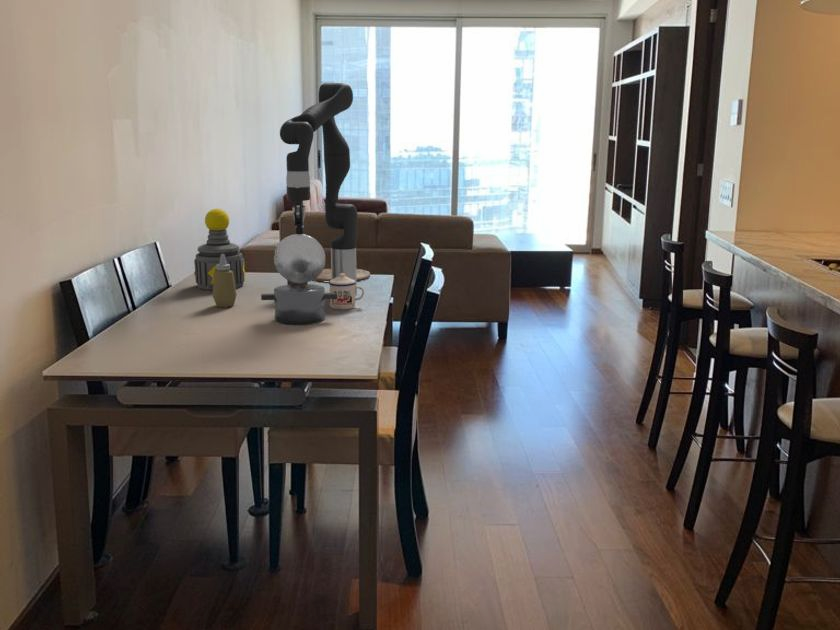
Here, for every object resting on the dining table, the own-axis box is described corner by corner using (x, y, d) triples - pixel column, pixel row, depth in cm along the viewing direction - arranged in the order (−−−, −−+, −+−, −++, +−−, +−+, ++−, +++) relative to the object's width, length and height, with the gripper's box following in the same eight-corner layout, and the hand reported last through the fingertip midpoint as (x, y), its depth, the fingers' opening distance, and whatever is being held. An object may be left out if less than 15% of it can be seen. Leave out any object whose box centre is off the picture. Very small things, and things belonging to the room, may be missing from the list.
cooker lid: (275, 283, 265) (276, 280, 268) (326, 282, 266) (326, 279, 269) (272, 235, 258) (273, 232, 261) (324, 234, 260) (324, 231, 263)
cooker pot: (265, 314, 267) (263, 284, 264) (337, 312, 269) (337, 283, 266) (259, 325, 251) (258, 294, 249) (337, 324, 253) (336, 293, 251)
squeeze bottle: (236, 302, 284) (233, 252, 280) (238, 307, 276) (235, 255, 272) (212, 304, 281) (209, 253, 277) (214, 308, 274) (211, 256, 270)
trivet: (331, 270, 349) (331, 266, 349) (381, 275, 338) (381, 271, 337) (297, 280, 328) (296, 275, 327) (349, 285, 316) (349, 281, 316)
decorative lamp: (249, 281, 322) (246, 206, 316) (239, 290, 304) (236, 211, 297) (202, 281, 322) (198, 206, 315) (189, 290, 304) (184, 211, 297)
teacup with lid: (328, 310, 273) (328, 276, 270) (330, 304, 282) (329, 271, 279) (364, 309, 274) (363, 276, 271) (364, 304, 282) (364, 271, 280)
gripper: (288, 184, 266) (289, 236, 270) (284, 186, 253) (286, 241, 257) (310, 183, 267) (312, 236, 271) (309, 186, 254) (310, 241, 258)
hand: (299, 238), depth 264 cm, fingers closed
